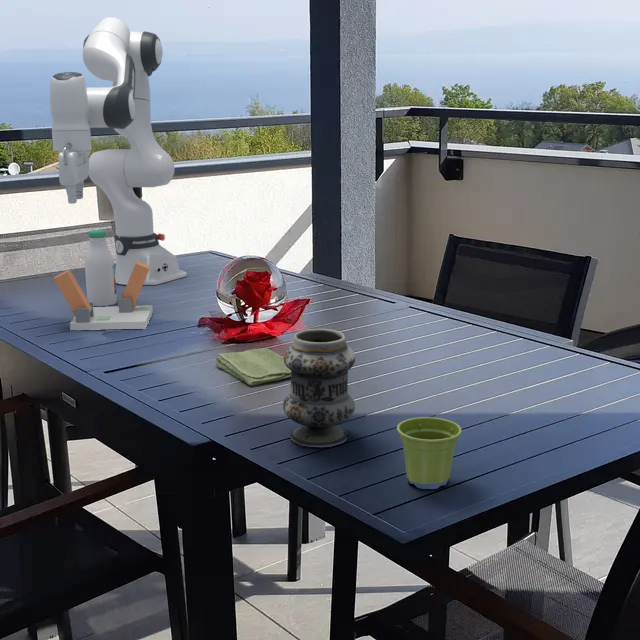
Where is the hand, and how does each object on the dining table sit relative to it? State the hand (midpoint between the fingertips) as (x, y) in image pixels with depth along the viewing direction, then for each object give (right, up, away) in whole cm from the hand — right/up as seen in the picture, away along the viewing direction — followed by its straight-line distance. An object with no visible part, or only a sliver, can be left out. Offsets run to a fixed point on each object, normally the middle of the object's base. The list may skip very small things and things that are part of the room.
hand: (75, 201), depth 219 cm
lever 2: (+10, -25, +12) cm, 29 cm away
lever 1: (+1, -27, +2) cm, 27 cm away
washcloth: (+46, -40, -31) cm, 68 cm away
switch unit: (+7, -29, +8) cm, 31 cm away
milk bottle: (0, -25, +26) cm, 36 cm away
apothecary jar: (+59, -49, -66) cm, 101 cm away
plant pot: (+75, -53, -83) cm, 124 cm away
